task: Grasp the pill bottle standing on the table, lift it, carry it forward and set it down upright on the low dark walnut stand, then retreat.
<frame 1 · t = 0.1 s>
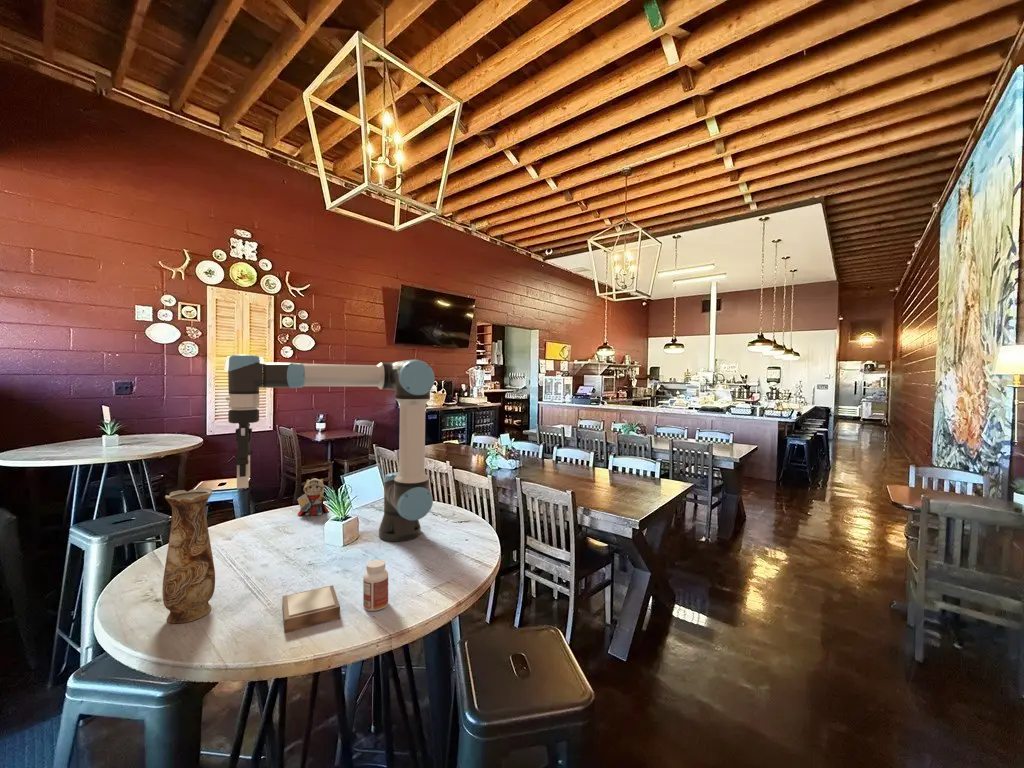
hand: (243, 482, 124), 28 cm above the table, fingers open, 13 cm apart
vase: (189, 613, 107), on the table
figurine: (313, 514, 182), on the table
pill bottle: (375, 606, 112), on the table
walnut stand: (310, 613, 108), on the table
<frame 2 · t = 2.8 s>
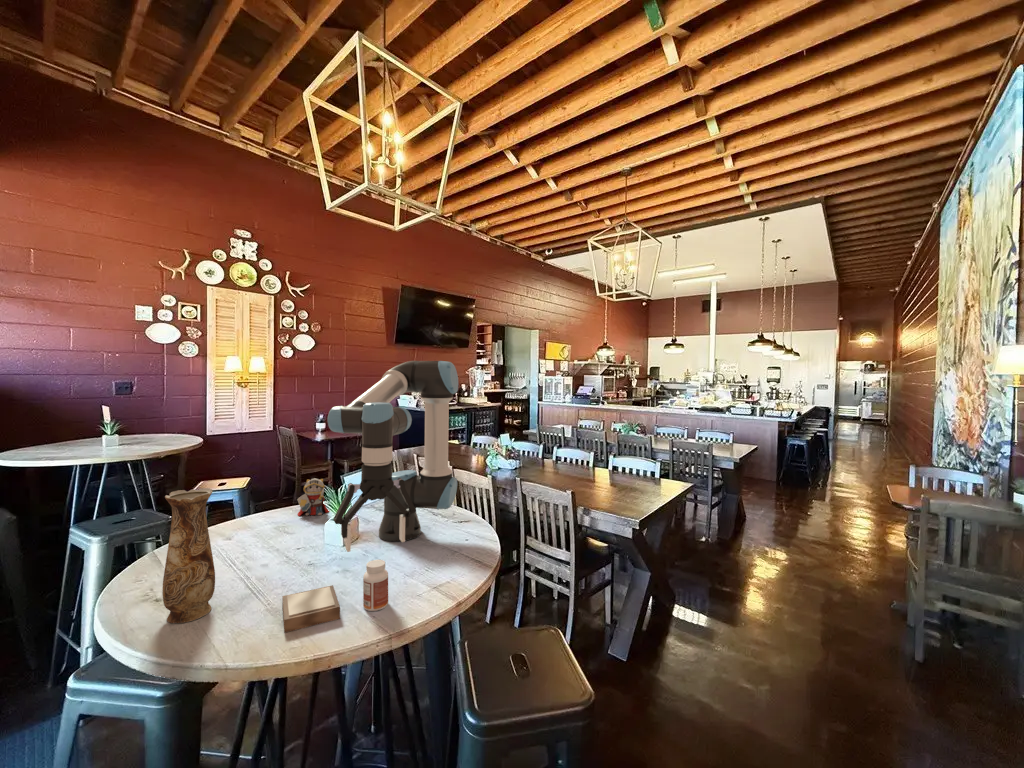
hand: (375, 545, 111), 16 cm above the table, fingers open, 13 cm apart
nothing on the table moved.
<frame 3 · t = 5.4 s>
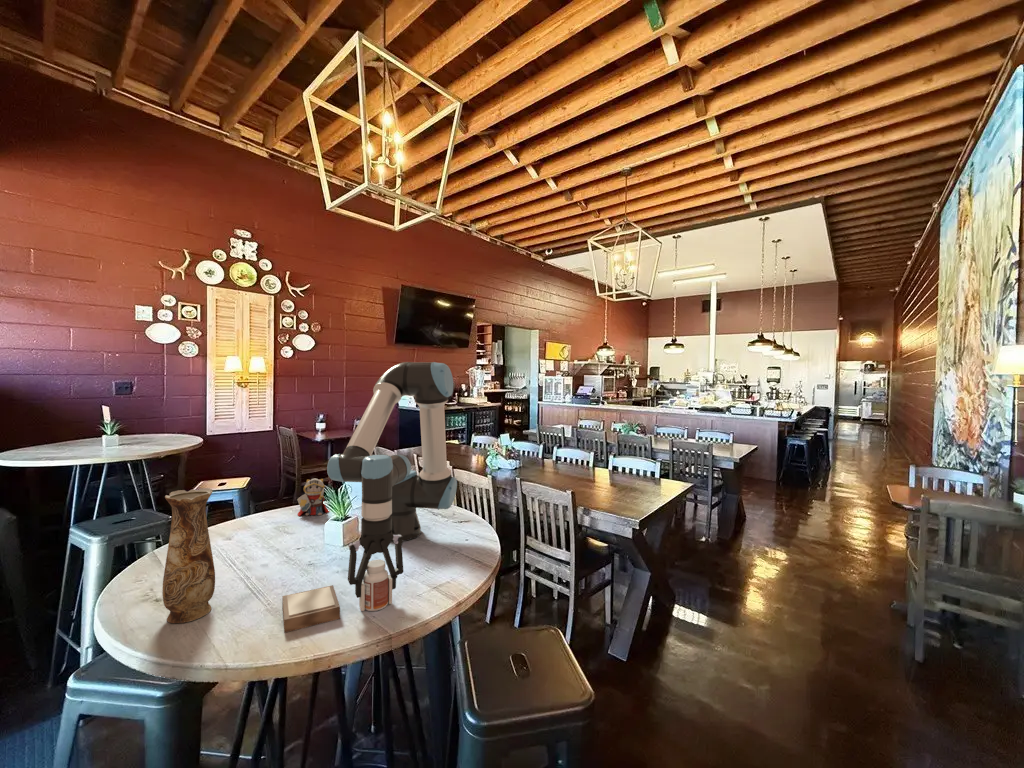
hand: (375, 604, 111), 0 cm above the table, fingers closed on pill bottle, 6 cm apart
pill bottle: (375, 606, 112), on the table, touching gripper
everything else where it was.
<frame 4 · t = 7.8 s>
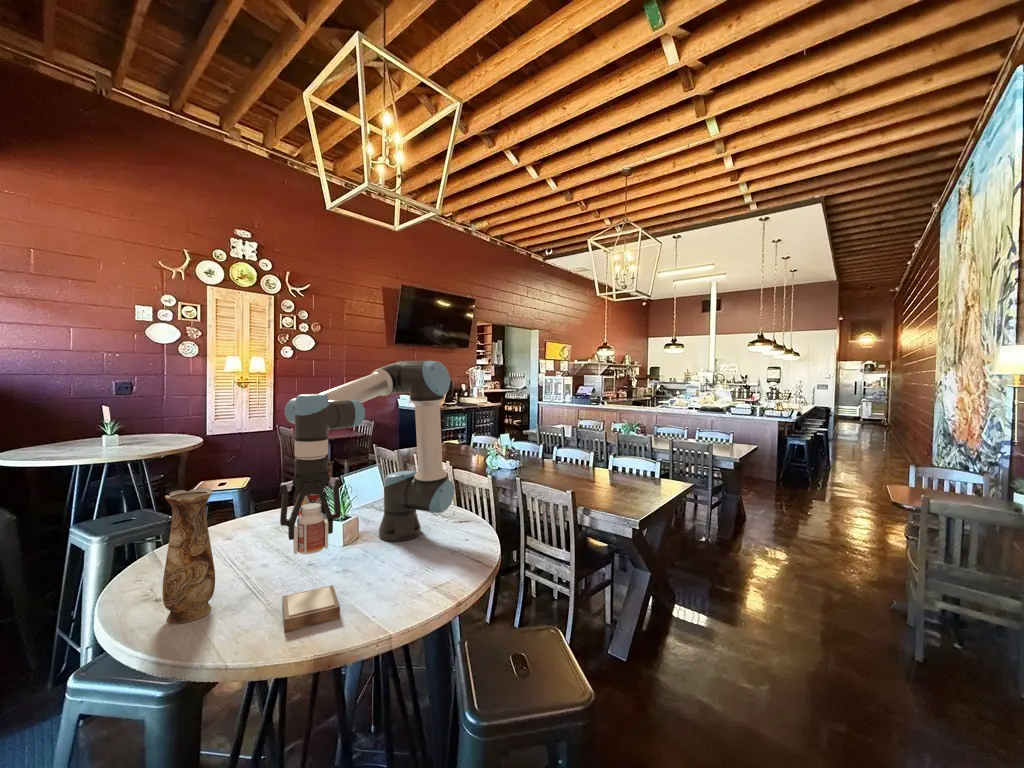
hand: (310, 548, 107), 16 cm above the table, fingers closed on pill bottle, 6 cm apart
pill bottle: (310, 550, 107), point 16 cm above the table, touching gripper
everything else where it was.
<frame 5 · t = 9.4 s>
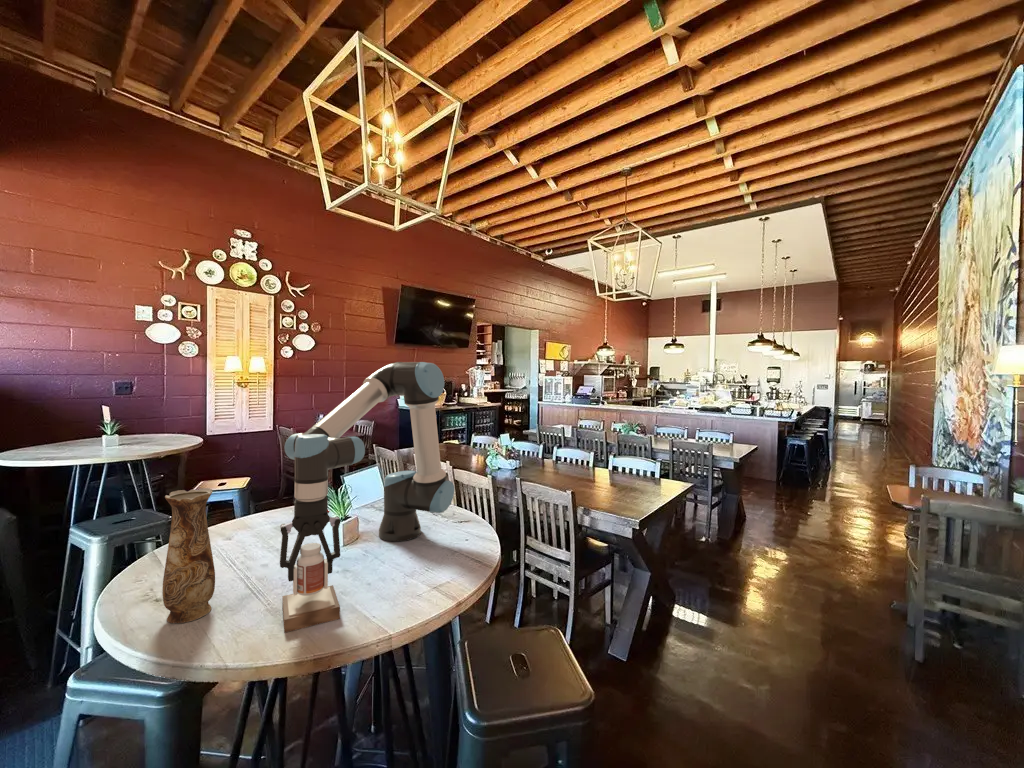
hand: (310, 589, 107), 6 cm above the table, fingers closed on pill bottle, 6 cm apart
pill bottle: (310, 591, 107), point 6 cm above the table, touching gripper
everything else where it was.
when the fingers open (4 cm above the table, at t = 10.5 s): pill bottle stays where it is, resting on walnut stand.
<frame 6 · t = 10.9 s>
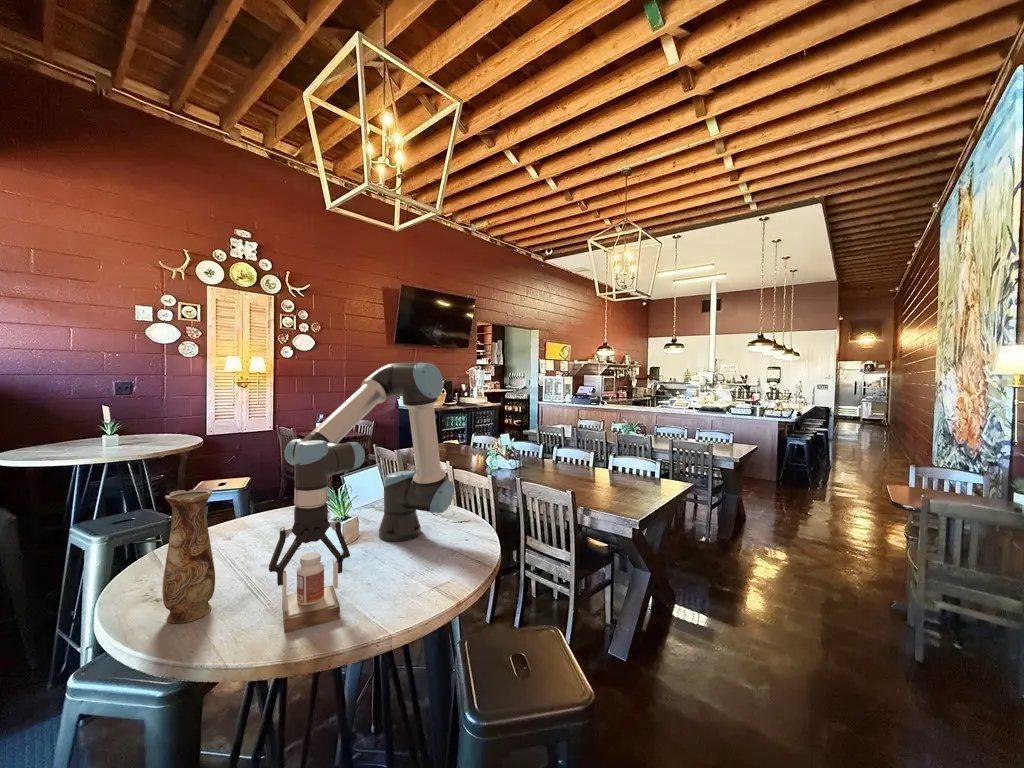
hand: (310, 591, 107), 5 cm above the table, fingers open, 11 cm apart
pill bottle: (310, 600, 108), point 3 cm above the table, touching walnut stand
everything else where it was.
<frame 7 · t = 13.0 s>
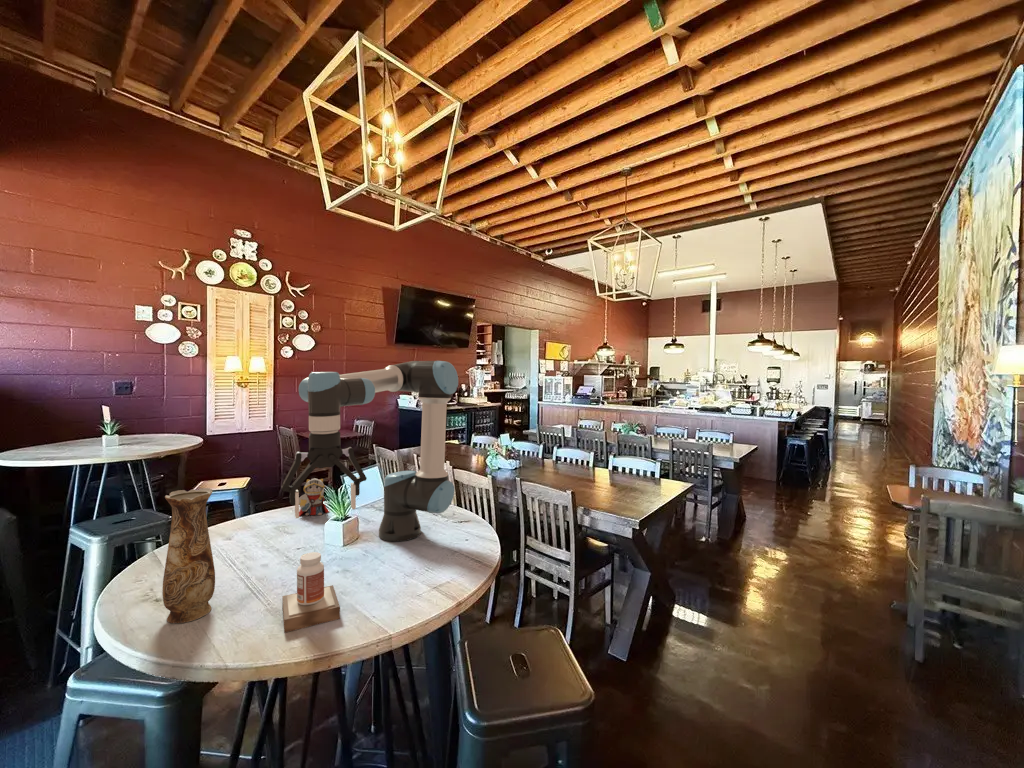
hand: (326, 512, 113), 24 cm above the table, fingers open, 13 cm apart
nothing on the table moved.
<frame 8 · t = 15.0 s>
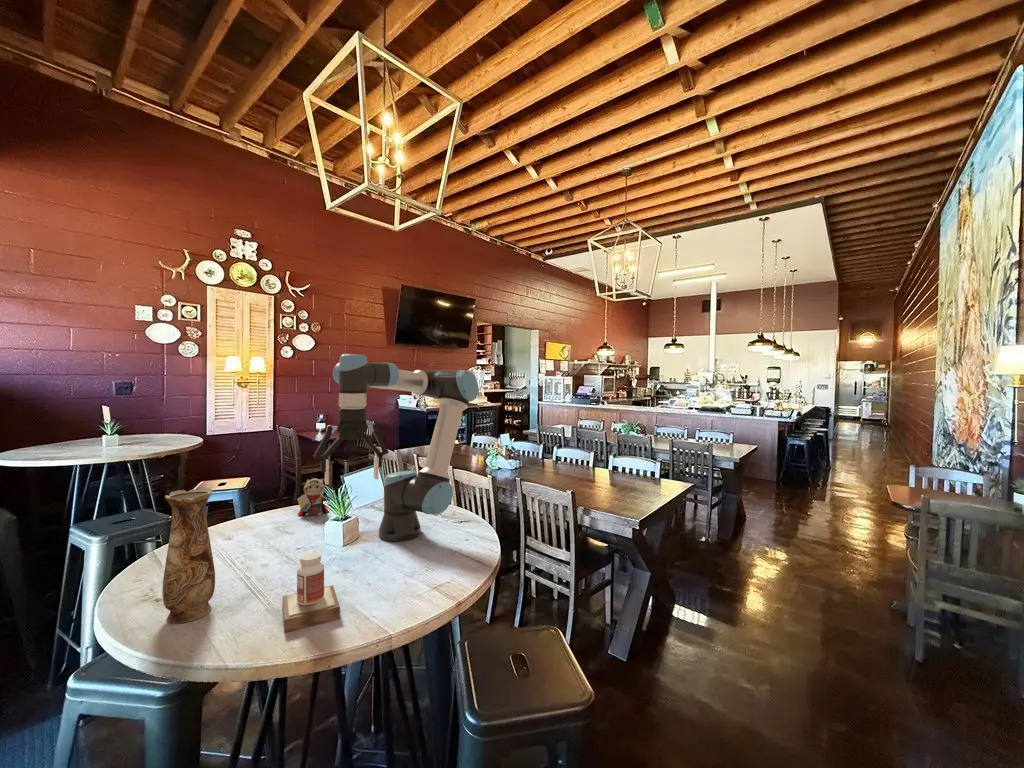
hand: (352, 480, 125), 29 cm above the table, fingers open, 13 cm apart
nothing on the table moved.
at the end: pill bottle inside the target area on the walnut stand (0.2 cm from its centre), point 3.1 cm above the walnut stand's base; pill bottle tilted 0°; the gripper is holding nothing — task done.
